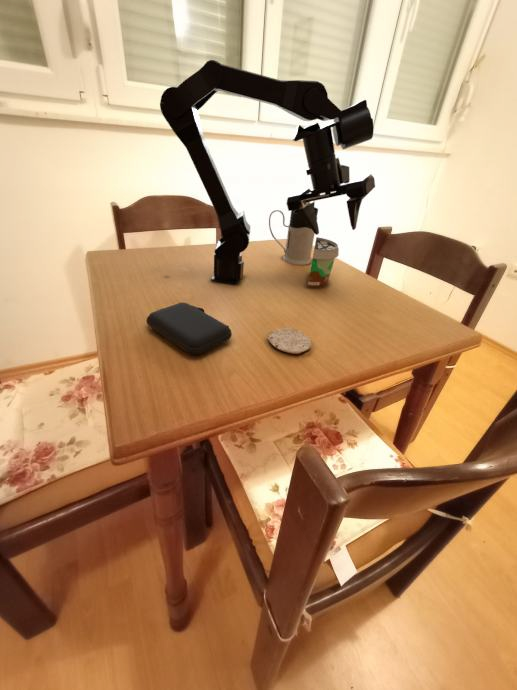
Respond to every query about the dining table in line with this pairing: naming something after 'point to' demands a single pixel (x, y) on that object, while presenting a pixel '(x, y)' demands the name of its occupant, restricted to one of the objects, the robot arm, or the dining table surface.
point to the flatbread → (290, 340)
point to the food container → (322, 262)
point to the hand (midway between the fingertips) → (335, 231)
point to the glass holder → (297, 239)
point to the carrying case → (189, 328)
